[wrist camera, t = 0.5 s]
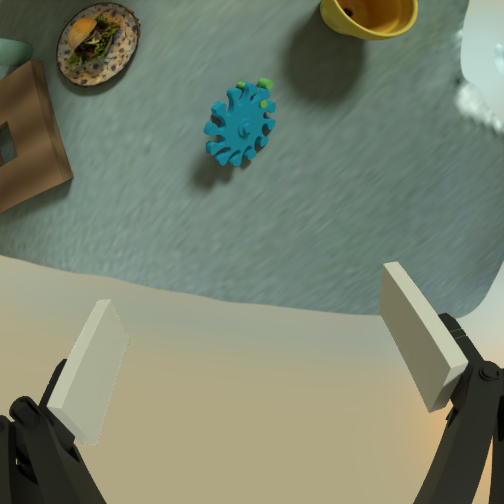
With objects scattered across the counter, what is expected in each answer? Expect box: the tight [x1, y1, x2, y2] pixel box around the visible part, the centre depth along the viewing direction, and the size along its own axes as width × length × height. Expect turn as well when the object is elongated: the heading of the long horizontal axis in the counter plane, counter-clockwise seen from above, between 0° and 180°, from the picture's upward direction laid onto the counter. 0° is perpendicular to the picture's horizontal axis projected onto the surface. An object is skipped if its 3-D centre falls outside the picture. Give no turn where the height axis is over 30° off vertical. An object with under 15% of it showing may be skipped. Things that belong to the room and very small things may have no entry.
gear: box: [203, 78, 276, 166], centre depth 34 cm, size 11×6×10 cm
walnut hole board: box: [0, 60, 74, 213], centre depth 33 cm, size 18×18×3 cm
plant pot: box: [320, 0, 418, 40], centre depth 26 cm, size 10×10×10 cm
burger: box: [56, 2, 140, 87], centre depth 27 cm, size 12×12×8 cm
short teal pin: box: [0, 38, 32, 66], centre depth 25 cm, size 4×4×7 cm
